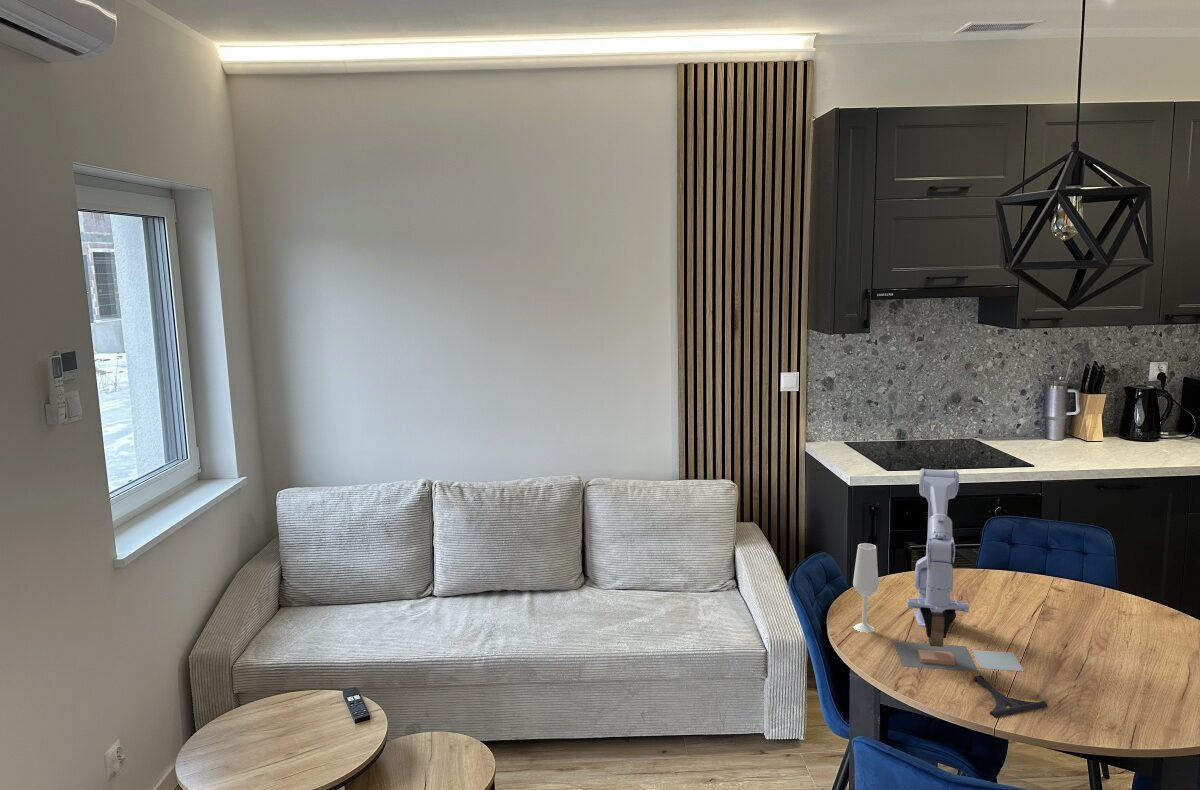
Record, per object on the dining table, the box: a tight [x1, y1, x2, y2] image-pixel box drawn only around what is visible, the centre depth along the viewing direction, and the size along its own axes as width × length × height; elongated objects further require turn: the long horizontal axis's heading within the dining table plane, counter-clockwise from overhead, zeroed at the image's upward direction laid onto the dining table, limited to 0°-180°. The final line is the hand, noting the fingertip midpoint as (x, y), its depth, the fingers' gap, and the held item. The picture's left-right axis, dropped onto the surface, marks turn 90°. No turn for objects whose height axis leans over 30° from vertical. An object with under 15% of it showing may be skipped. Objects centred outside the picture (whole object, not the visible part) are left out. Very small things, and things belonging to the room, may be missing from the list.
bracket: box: [973, 675, 1048, 718], centre depth 201 cm, size 14×15×3 cm
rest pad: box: [971, 649, 1025, 672], centre depth 217 cm, size 10×10×1 cm
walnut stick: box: [928, 612, 945, 647], centre depth 218 cm, size 3×3×8 cm
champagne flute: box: [852, 542, 879, 634], centre depth 235 cm, size 7×7×24 cm
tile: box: [918, 650, 955, 665], centre depth 218 cm, size 1×8×5 cm
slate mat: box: [894, 640, 979, 673], centre depth 220 cm, size 14×18×1 cm
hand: (935, 636), depth 219 cm, fingers closed on walnut stick, 3 cm apart
